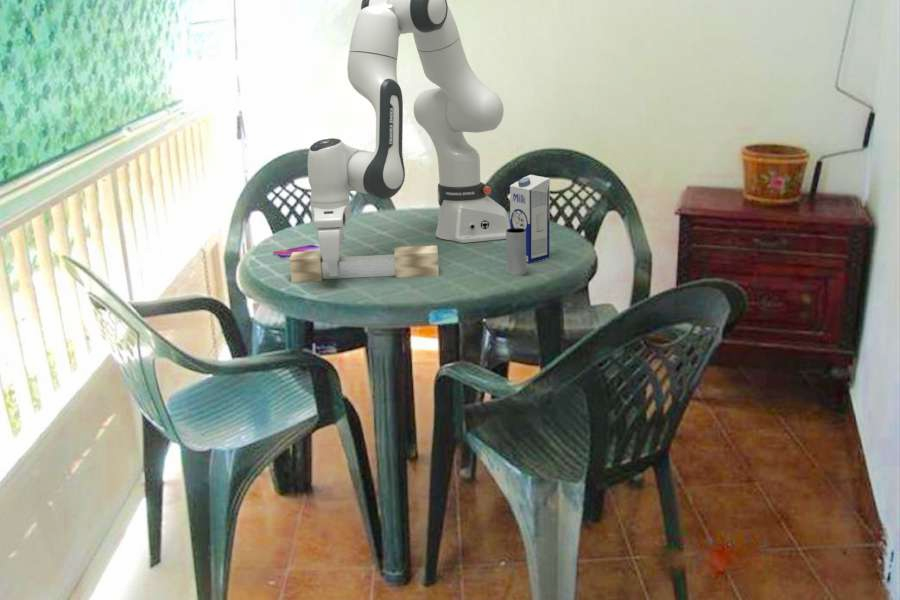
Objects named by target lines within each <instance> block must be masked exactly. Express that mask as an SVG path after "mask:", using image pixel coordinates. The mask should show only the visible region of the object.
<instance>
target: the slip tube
mask: <svg viewBox="0 0 900 600" xmlns="http://www.w3.org/2000/svg"><path fill="white" fill-rule="evenodd" d="M337 267H338V275H337V276H333V277H331V276H330V271H329V266H328V262H324V261H323V259H322V258H321V271H322V280H333V279H350V278H351V279H352V278H353V279H356V278H357V279H358V278H373V277H375V278H376V277H392V276H393V277H394V276H395V277H396V273H395V255H394V254H377V255H358V256H354V255H353V256H352V255H351V256H340V257H339V260H338V261H337Z"/></svg>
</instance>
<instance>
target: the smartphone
mask: <svg viewBox="0 0 900 600" xmlns="http://www.w3.org/2000/svg"><path fill="white" fill-rule="evenodd" d="M307 251H321V250H320V245H319V242H318V243H313V244H309V245H303V246H297V247H291V248H287V249H281V250H276V251H272V255H273V256H274V255H275V257H276V256H277V257H276V258H278V257H279V258H278V259H280V260H288V259H287V258H289V259H290V257H291V255H292V252H307Z"/></svg>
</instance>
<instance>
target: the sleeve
mask: <svg viewBox="0 0 900 600" xmlns="http://www.w3.org/2000/svg"><path fill="white" fill-rule="evenodd" d="M438 251H439V250H438V245H421V246H418V245H417V246H399V247H394V254H393V255H395V273H396V276H395V278H408V277H409V278H410V277H414V278H415V277H430V276H431V277H432V276H434V277H435V276H439V275H440V273H439V269H440V268H439V252H438Z"/></svg>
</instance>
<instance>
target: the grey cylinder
mask: <svg viewBox="0 0 900 600" xmlns="http://www.w3.org/2000/svg"><path fill="white" fill-rule="evenodd" d="M505 244H506V245H505V247H506V249H505V250H506V252H505V253H506V254H505V255H506V257H505V258H506V264H505V265H506V274H507V275H510V276H523V275H526V273H527V263H526V230H525V229H523V228H510V229H507V230H506V239H505Z"/></svg>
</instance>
